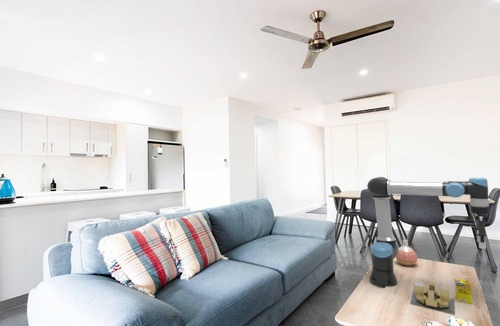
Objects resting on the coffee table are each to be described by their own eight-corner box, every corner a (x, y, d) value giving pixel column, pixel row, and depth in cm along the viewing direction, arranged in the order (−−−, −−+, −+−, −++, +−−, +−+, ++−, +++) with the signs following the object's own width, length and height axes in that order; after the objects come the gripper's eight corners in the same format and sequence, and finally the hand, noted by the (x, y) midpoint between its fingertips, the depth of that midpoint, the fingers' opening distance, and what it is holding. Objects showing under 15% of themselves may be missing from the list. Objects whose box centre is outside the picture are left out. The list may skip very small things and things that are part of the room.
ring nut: (413, 302, 131) (412, 289, 131) (416, 290, 143) (415, 278, 143) (451, 311, 122) (450, 297, 122) (450, 298, 134) (449, 285, 134)
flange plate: (410, 306, 130) (409, 298, 131) (413, 292, 145) (413, 285, 145) (455, 317, 120) (454, 309, 120) (454, 301, 134) (453, 293, 134)
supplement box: (472, 306, 128) (471, 284, 128) (457, 303, 131) (456, 282, 132) (470, 301, 133) (469, 280, 133) (455, 298, 136) (454, 278, 137)
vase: (400, 267, 180) (398, 242, 180) (392, 261, 193) (391, 237, 194) (421, 268, 177) (420, 242, 178) (412, 261, 191) (411, 237, 191)
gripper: (491, 209, 128) (493, 252, 127) (486, 203, 147) (488, 240, 146) (471, 208, 132) (473, 250, 132) (469, 202, 152) (471, 238, 151)
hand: (481, 245), depth 139 cm, fingers open, 13 cm apart
